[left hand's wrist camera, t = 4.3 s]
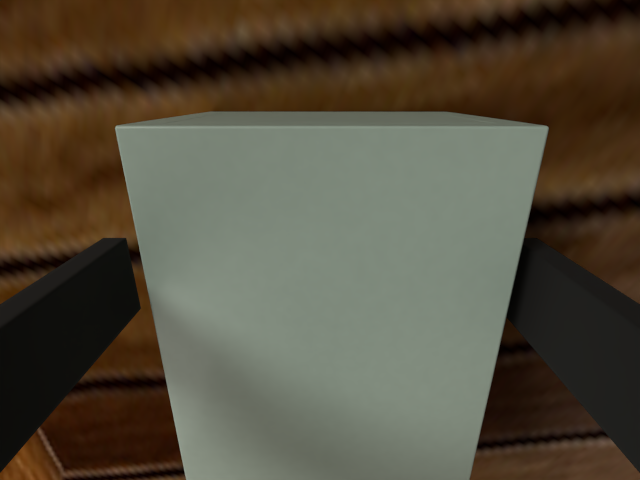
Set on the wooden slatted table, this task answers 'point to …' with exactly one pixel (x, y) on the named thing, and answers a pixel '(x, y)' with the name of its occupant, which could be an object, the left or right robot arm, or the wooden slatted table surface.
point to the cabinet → (330, 284)
